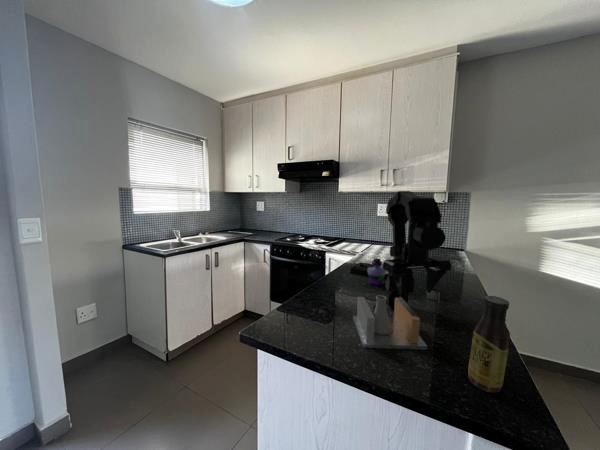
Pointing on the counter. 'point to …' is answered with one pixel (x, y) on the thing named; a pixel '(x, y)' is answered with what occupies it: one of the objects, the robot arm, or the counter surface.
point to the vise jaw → (407, 320)
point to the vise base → (374, 340)
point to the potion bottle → (376, 273)
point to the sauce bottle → (490, 346)
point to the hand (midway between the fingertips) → (414, 293)
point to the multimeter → (364, 270)
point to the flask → (381, 317)
